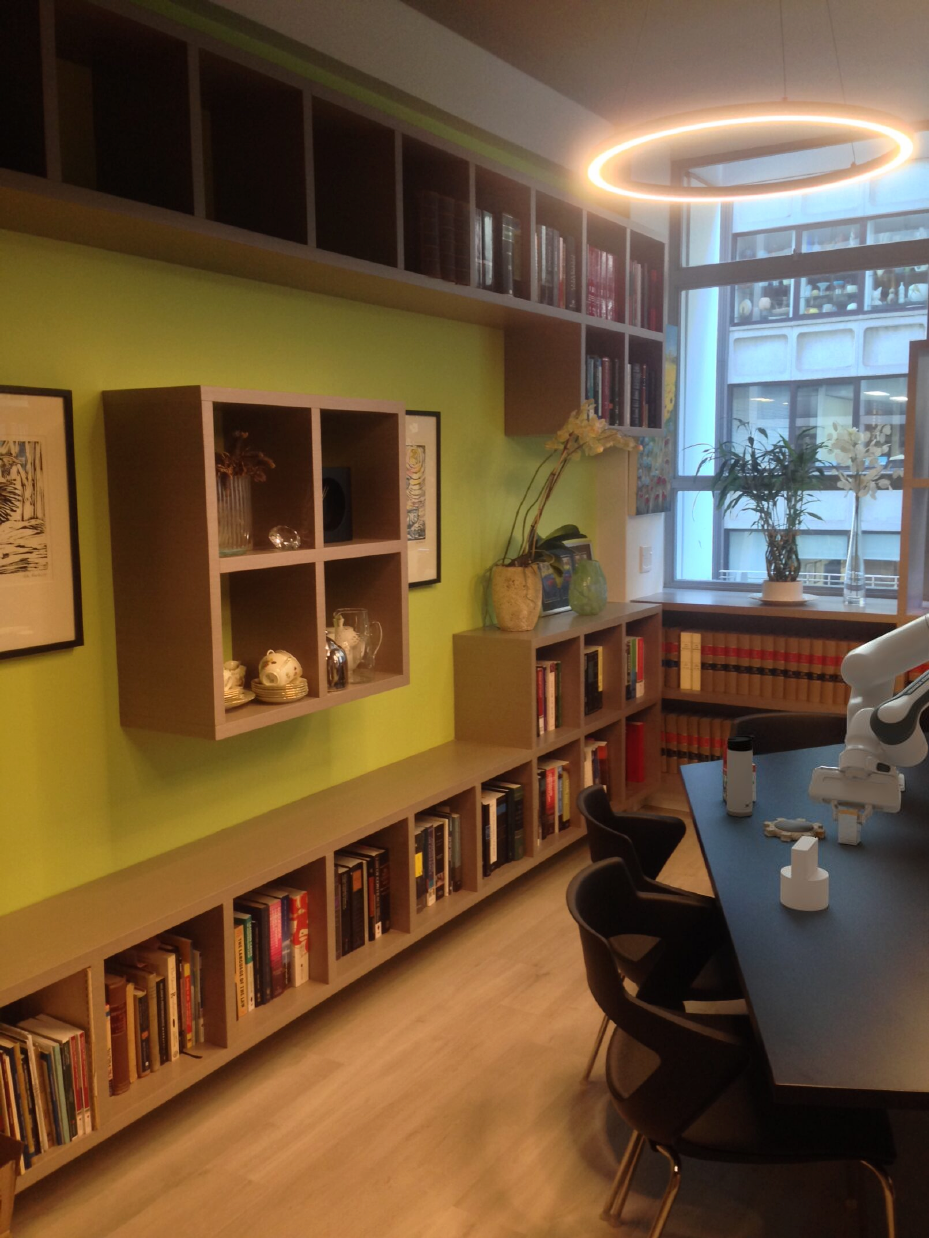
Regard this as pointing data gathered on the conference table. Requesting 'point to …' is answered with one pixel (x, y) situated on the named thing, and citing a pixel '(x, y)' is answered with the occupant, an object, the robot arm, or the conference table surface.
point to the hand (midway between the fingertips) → (848, 821)
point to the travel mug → (740, 775)
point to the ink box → (726, 776)
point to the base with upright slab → (804, 878)
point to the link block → (849, 824)
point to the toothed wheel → (793, 829)
